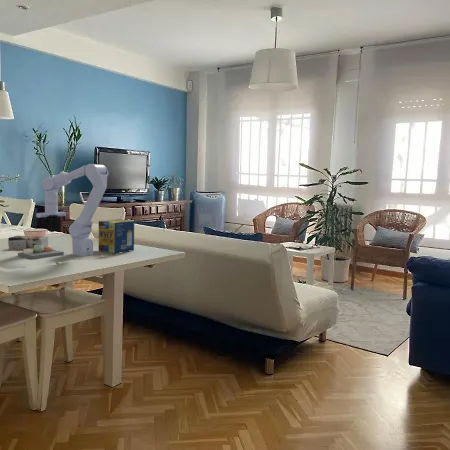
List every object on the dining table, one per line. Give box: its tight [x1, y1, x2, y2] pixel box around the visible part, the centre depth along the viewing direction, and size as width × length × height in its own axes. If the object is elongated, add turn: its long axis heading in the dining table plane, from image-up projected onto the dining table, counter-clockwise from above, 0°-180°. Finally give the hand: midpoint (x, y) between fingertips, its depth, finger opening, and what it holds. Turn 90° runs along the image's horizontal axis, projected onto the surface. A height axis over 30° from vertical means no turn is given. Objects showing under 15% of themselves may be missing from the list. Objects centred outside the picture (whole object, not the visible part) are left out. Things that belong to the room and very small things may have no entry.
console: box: [17, 249, 65, 260], centre depth 205 cm, size 12×15×2 cm
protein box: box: [98, 218, 135, 255], centre depth 228 cm, size 10×15×16 cm
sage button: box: [33, 245, 44, 253], centre depth 206 cm, size 4×4×3 cm
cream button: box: [22, 249, 34, 254], centre depth 202 cm, size 4×4×3 cm
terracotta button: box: [43, 245, 54, 252], centre depth 210 cm, size 4×4×3 cm
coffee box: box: [7, 235, 49, 251], centre depth 225 cm, size 9×6×16 cm
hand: (51, 231), depth 216 cm, fingers closed
